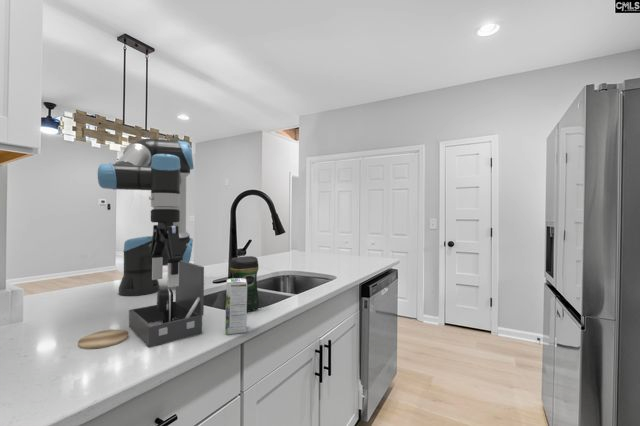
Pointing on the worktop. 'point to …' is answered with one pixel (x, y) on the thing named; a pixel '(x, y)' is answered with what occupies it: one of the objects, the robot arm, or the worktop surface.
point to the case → (174, 310)
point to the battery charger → (165, 304)
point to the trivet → (103, 339)
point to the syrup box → (236, 306)
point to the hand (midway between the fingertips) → (164, 282)
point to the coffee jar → (247, 277)
